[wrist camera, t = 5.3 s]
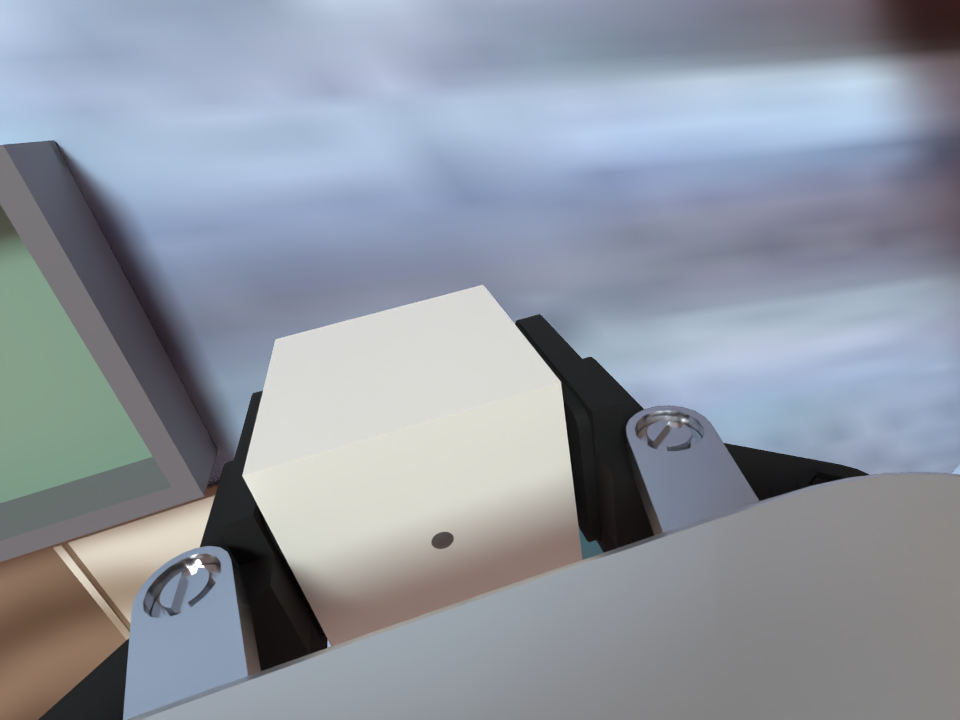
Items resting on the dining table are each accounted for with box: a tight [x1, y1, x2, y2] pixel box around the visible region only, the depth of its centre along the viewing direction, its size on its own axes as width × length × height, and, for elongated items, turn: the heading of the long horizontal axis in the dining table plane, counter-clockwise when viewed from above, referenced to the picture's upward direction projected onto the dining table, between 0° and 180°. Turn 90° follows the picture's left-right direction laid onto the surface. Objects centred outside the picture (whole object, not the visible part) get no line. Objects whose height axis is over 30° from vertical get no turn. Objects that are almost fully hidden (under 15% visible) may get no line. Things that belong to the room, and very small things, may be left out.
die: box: [242, 285, 582, 646], centre depth 10 cm, size 5×5×5 cm
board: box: [0, 483, 219, 720], centre depth 25 cm, size 10×32×1 cm, turn 101°
